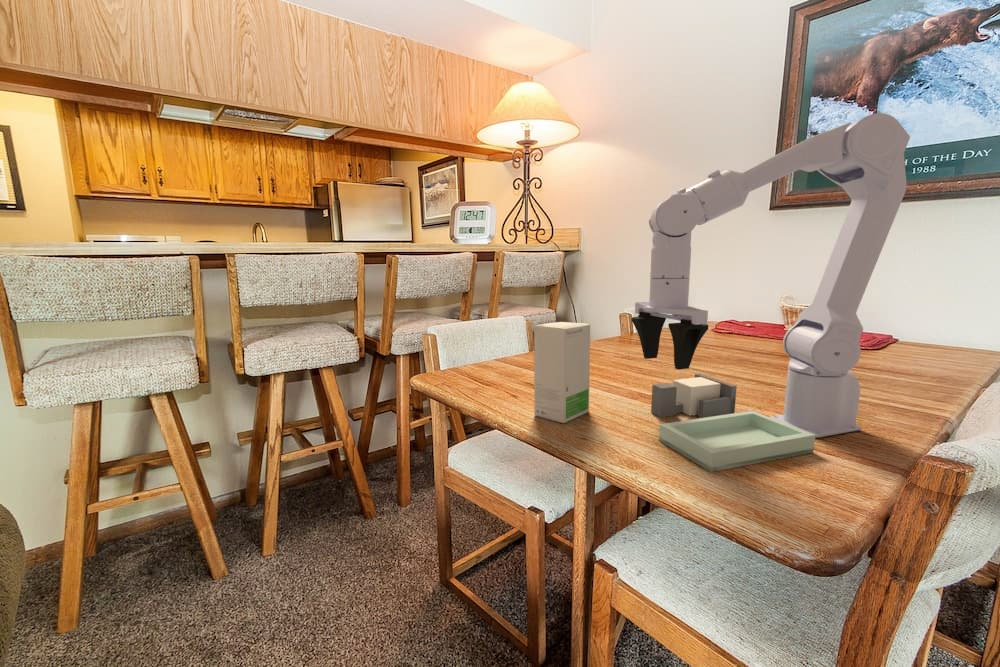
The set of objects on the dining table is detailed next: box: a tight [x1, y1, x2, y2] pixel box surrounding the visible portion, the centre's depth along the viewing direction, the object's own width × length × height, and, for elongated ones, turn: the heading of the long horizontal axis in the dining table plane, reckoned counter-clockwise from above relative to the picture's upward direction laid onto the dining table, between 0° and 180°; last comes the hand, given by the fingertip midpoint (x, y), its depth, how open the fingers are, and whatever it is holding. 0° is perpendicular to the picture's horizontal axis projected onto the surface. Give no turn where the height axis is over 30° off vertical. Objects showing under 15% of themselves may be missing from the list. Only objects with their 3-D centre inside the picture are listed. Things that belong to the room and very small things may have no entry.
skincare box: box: [533, 321, 591, 424], centre depth 73 cm, size 8×7×16 cm
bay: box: [694, 373, 737, 419], centre depth 75 cm, size 6×8×5 cm
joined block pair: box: [650, 377, 721, 418], centre depth 74 cm, size 11×4×5 cm, turn 107°
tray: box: [658, 410, 816, 473], centre depth 61 cm, size 17×10×2 cm, turn 107°
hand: (665, 363), depth 70 cm, fingers open, 7 cm apart
